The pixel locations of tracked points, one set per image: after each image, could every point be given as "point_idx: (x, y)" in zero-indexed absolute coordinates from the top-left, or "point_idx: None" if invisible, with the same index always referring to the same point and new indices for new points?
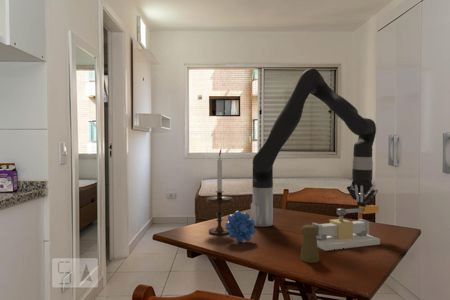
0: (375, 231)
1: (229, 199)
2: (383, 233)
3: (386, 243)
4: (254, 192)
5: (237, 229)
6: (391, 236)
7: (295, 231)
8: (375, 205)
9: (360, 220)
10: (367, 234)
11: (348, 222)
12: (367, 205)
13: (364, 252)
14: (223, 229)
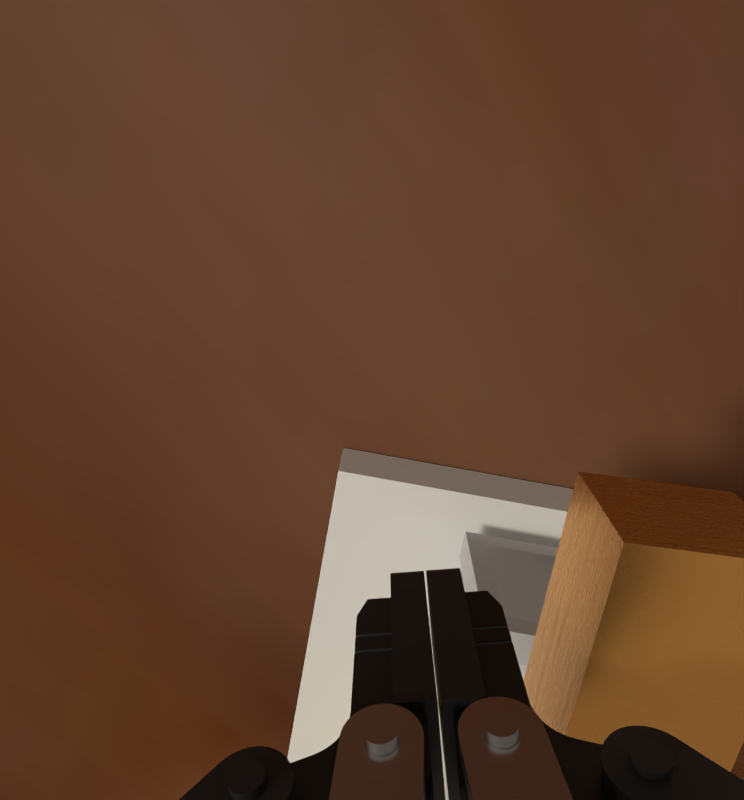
0: (357, 86)
1: None
2: (479, 81)
3: (733, 437)
4: None
5: None
6: (623, 125)
7: (19, 780)
8: (723, 563)
9: (519, 655)
10: (551, 510)
11: None
12: (599, 701)
13: (737, 772)
14: None
